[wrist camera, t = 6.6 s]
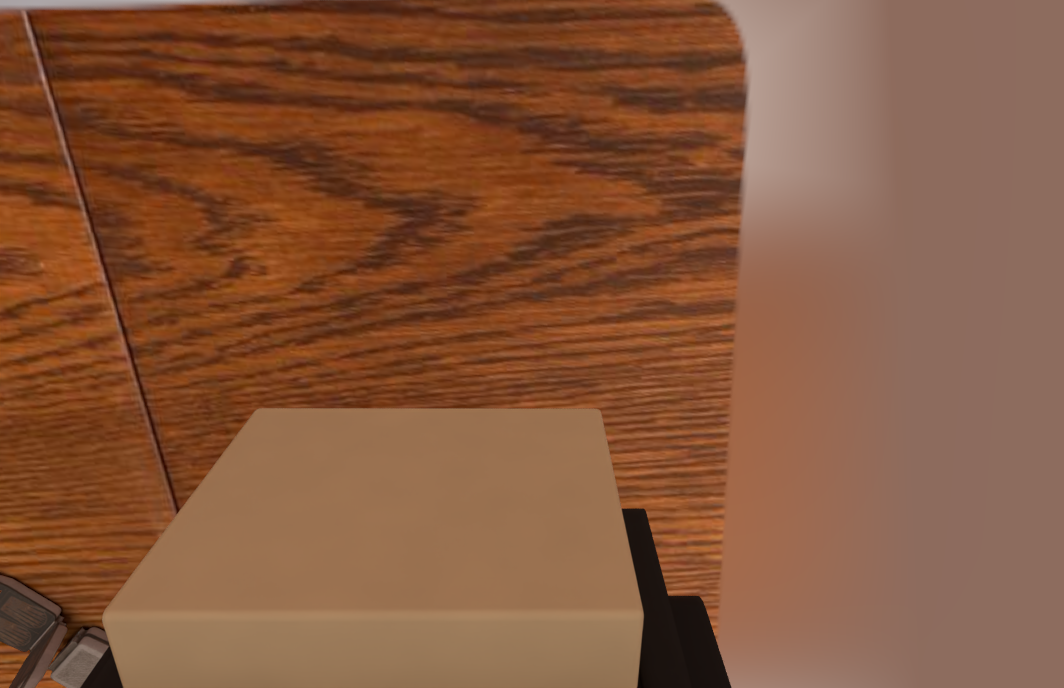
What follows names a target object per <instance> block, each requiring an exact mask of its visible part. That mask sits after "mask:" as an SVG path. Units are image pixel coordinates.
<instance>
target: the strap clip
mask: <svg viewBox="0 0 1064 688" xmlns="http://www.w3.org/2000/svg"><path fill="white" fill-rule="evenodd" d="M0 590H1V593H0V641H1V642H3V643H5V644H7V645H9V646H12V647H14V648H16V649H18V650H20V651H23V652H25V651H28V650H29V649H30V654H29V656H28V657H27V658H26V660H25V661H24V663H23V665H22V667H21V668H20V670H19V672H18V673H17V675H16V677H15V678H14V680H13V682H12V684H11V685H10V687H9V688H35V687H36V685H37V684H38V683H39V681H40V680H41V679H42V677H43V676H44V674H45V672H46V670H47V669H50V670H52V673H51V678H52V679H53V680H54V681H56V682H58V683H60V684H62V685H63V686H65V687H67V688H80V687H81V686H82V684H83V683H84V681H85V680H86V678H87V677H88V676H89V674H90V673H91V671H92V670H93V668H94V667H95V666H96V664H97V663H98V661H99V660H100V658H101V657H102V656H103V654H104V653H105V651H106V650H107V648H108V647H109V646H110V644H109V641H108V638H107V635H106V632H105V631H103V630H101V629H99V628H96V627H92V628H90V629H89V630H84V629H83V627H82V628H81V630H80V631H79V632H78V633H77V634H76V635H75V636H74V637H73V638H72V640H71V641H70V642H69V643H68V644H67V645H66V646H65V647H64V648H63V649H62V651H61V652H60V653H59V654H58V655H57V657H56V658H55V660H54V661H53V662H52V663H51V661H52V659H53V657H54V655H55V653H56V651H57V650H58V648H59V646H60V644H61V642H62V640H63V638H64V636H65V634H66V632H67V627H65V626H66V625H67V624H66V623H63V622H62V620H63V619H64V618H65V617H61V616H60V615H59V614H60V613H61V608H60V607H59V606H57V605H56V604H54V603H52V602H51V601H49V600H47V599H46V598H44V597H42V596H41V595H39V594H37V593H36V592H34V591H32V590H31V589H29V588H27V587H26V586H24V585H22V584H21V583H19V582H18V581H16V580H14V579H12V578H9V577H5V576H2V575H0ZM50 663H51V665H50ZM49 665H50V666H49Z"/></svg>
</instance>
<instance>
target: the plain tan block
mask: <svg viewBox="0 0 1064 688" xmlns="http://www.w3.org/2000/svg"><path fill="white" fill-rule="evenodd" d="M643 620H644V612H643V607H642V603H641V598H640V593H639V589H638V584H637V579H636V575H635V570H634V565H633V560H632V556H631V551H630V546H629V542H628V537H627V532H626V528H625V523H624V518H623V513H622V509H621V504H620V499H619V495H618V490H617V485H616V480H615V476H614V471H613V466H612V462H611V457H610V452H609V448H608V443H607V438H606V433H605V429H604V424H603V419H602V415H601V412H600V410H598V409H422V408H260V409H257V410H255V412H254V413H253V414H252V416H251V417H250V418H249V420H248V421H247V422H246V424H245V425H244V426H243V428H242V429H241V430H240V431H239V433H238V434H237V435H236V437H235V438H234V439H233V441H232V442H231V443H230V445H229V446H228V447H227V449H226V450H225V451H224V453H223V454H222V455H221V457H220V458H219V459H218V461H217V462H216V463H215V465H214V466H213V467H212V469H211V470H210V471H209V473H208V474H207V475H206V477H205V478H204V479H203V481H202V482H201V483H200V485H199V486H198V487H197V489H196V490H195V491H194V493H193V494H192V495H191V496H190V498H189V499H188V500H187V502H186V503H185V504H184V506H183V507H182V508H181V510H180V511H179V512H178V514H177V515H176V516H175V518H174V519H173V520H172V522H171V523H170V524H169V526H168V527H167V528H166V530H165V531H164V532H163V534H162V535H161V536H160V538H159V539H158V540H157V542H156V543H155V544H154V546H153V547H152V548H151V550H150V551H149V552H148V554H147V555H146V556H145V558H144V559H143V560H142V561H141V563H140V564H139V565H138V567H137V568H136V569H135V571H134V572H133V573H132V575H131V576H130V577H129V579H128V580H127V581H126V583H125V584H124V585H123V587H122V588H121V589H120V591H119V592H118V593H117V595H116V596H115V597H114V599H113V600H112V601H111V603H110V604H109V605H108V607H107V608H106V609H105V611H104V613H103V618H102V622H103V625H104V628H105V631H106V635H107V638H108V641H109V644H110V647H111V651H112V654H113V657H114V660H115V663H116V666H117V670H118V673H119V676H120V679H121V682H122V685H123V688H637V685H638V674H639V663H640V652H641V642H642V631H643Z"/></svg>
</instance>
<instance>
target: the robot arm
mask: <svg viewBox="0 0 1064 688" xmlns="http://www.w3.org/2000/svg"><path fill="white" fill-rule="evenodd" d="M622 513H623V518H624V523H625V528H626V532H627V537H628V542H629V546H630V551H631V556H632V560H633V565H634V570H635V575H636V579H637V584H638V589H639V593H640V598H641V603H642V607H643V612H644V620H643V631H642V642H641V652H640V663H639V674H638V685H637V688H731V685H730V682H729V679H728V676H727V673H726V670H725V666H724V664H723V660H722V657H721V654H720V651H719V648H718V645H717V642H716V639H715V636H714V633H713V629H712V626H711V623H710V620H709V617H708V614H707V611H706V608H705V606H704V603H703V601H702V599H701V598H700V597H699V596H668V594H667V590H666V586H665V583H664V579H663V575H662V571H661V567H660V564H659V560H658V556H657V552H656V548H655V545H654V541H653V537H652V533H651V529H650V525H649V522H648V518H647V514H646V511H645V510H644V509H622ZM80 688H123V685H122V682H121V679H120V676H119V673H118V670H117V666H116V663H115V660H114V657H113V654H112V651H111V647H110V646H109V647H108V648H107V650H106V651H105V653H104V654H103V656H102V657H101V658H100V660H99V661H98V663H97V664H96V666H95V667H94V668H93V670H92V671H91V673H90V674H89V676H88V677H87V678H86V680H85V681H84V683H83V684H82V686H81V687H80Z"/></svg>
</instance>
